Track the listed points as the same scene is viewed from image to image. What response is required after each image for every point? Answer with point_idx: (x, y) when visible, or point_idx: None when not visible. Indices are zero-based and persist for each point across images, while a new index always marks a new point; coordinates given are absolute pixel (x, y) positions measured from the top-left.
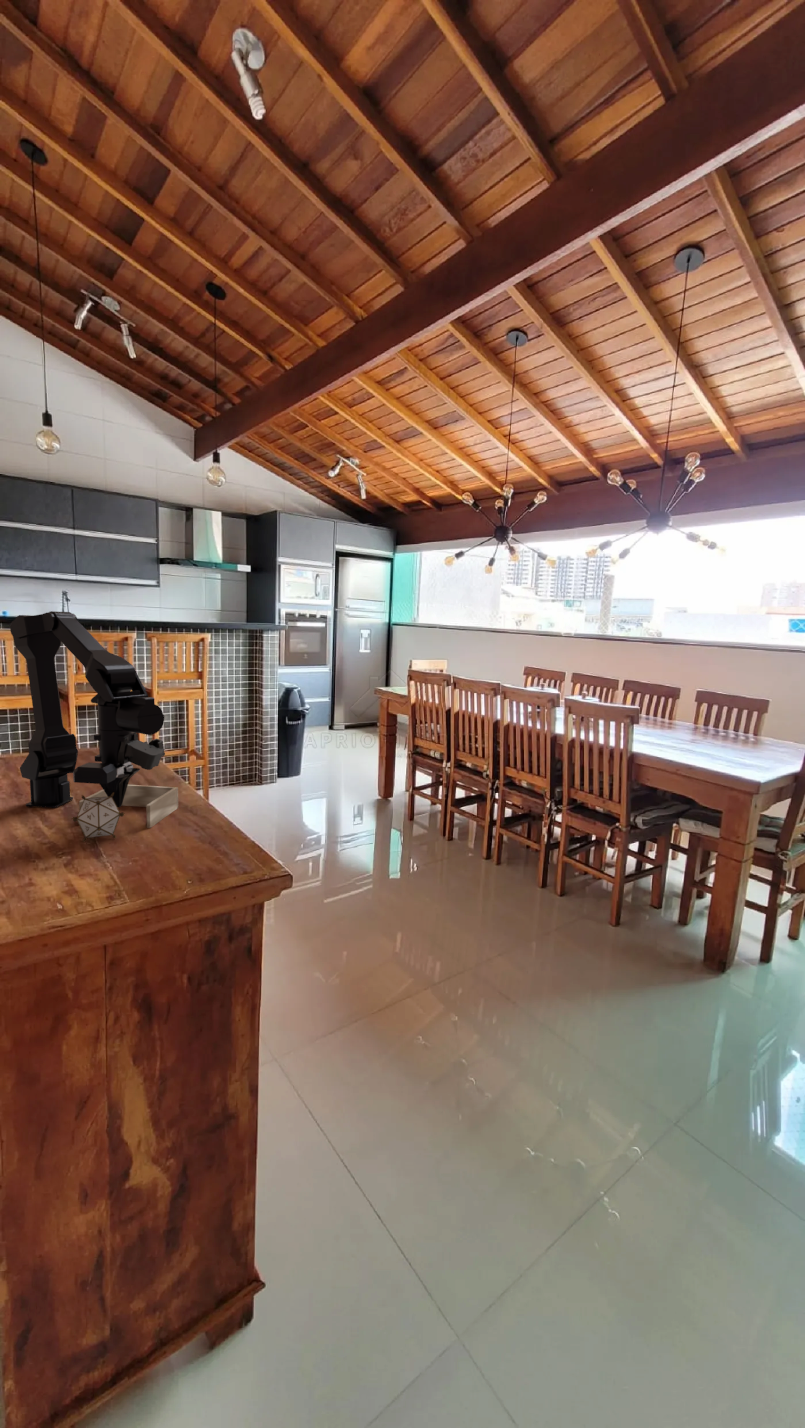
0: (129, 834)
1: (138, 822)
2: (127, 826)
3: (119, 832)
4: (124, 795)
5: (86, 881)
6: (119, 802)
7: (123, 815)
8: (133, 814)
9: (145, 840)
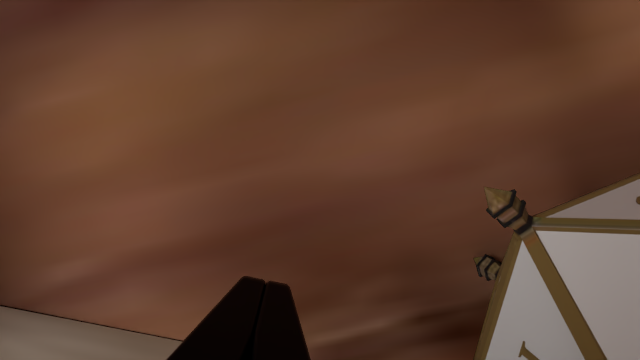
0: (591, 30)
1: (239, 36)
2: (352, 103)
3: (509, 128)
4: (179, 348)
5: None
6: (297, 325)
7: (499, 190)
8: (37, 132)
9: None
